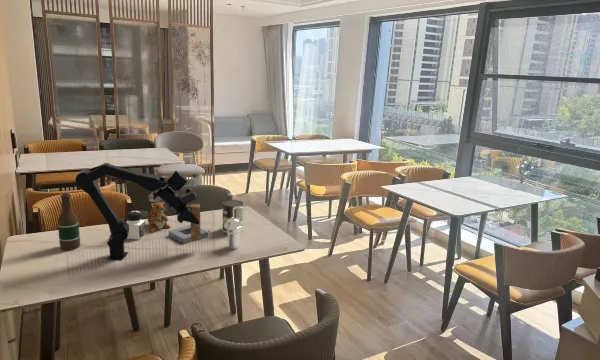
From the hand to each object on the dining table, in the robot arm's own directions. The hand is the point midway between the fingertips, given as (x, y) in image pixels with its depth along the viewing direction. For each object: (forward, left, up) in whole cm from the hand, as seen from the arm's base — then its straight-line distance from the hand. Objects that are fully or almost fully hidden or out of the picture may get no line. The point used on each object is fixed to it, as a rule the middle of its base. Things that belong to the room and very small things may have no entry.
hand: (198, 221), depth 183 cm
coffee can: (+26, -12, -14) cm, 32 cm away
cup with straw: (+5, -15, -14) cm, 21 cm away
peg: (0, +1, -8) cm, 8 cm away
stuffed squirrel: (+27, +26, -14) cm, 40 cm away
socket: (+16, +8, -14) cm, 23 cm away
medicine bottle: (+14, +32, -14) cm, 38 cm away
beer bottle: (0, +55, -14) cm, 57 cm away
